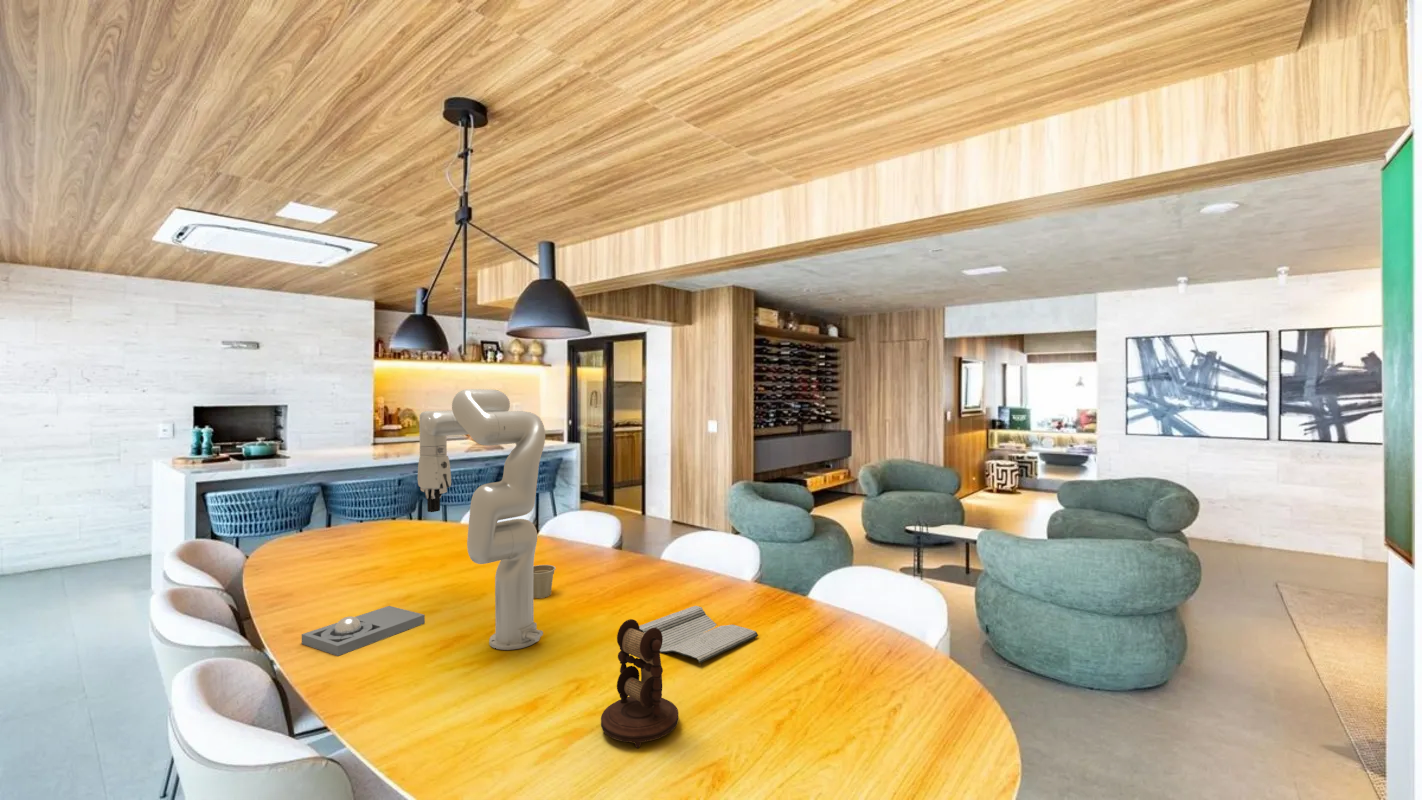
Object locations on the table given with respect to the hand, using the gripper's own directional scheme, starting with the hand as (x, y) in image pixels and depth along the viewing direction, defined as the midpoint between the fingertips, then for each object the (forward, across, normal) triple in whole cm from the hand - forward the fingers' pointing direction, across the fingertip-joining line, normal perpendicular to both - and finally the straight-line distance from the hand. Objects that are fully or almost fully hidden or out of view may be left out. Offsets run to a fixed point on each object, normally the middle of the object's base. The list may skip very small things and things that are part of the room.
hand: (433, 511), depth 183 cm
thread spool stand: (+29, -95, +27) cm, 103 cm away
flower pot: (+29, -22, -22) cm, 43 cm away
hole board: (+29, -2, +23) cm, 37 cm away
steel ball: (+26, -2, +28) cm, 38 cm away
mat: (+30, -84, -14) cm, 90 cm away
